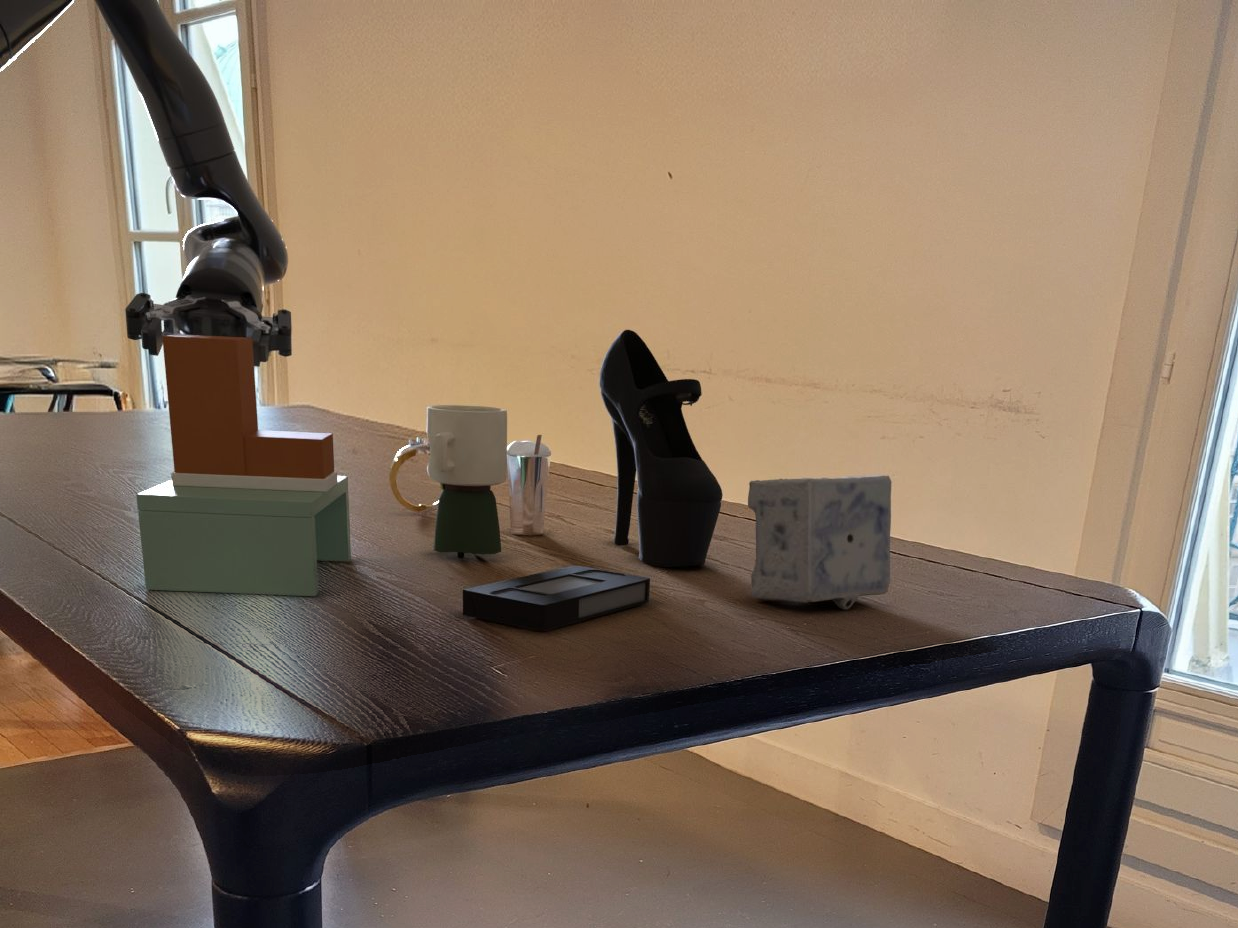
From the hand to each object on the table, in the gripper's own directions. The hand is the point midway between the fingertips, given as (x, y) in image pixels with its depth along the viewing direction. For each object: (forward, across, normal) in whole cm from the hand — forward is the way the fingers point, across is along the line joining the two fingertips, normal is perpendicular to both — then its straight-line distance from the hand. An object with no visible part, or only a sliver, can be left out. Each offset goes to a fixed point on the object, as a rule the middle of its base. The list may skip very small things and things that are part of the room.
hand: (204, 349), depth 112 cm
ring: (-15, +20, +20) cm, 33 cm away
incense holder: (+26, +51, +7) cm, 58 cm away
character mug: (+9, +24, +14) cm, 29 cm away
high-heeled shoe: (+7, +42, +13) cm, 44 cm away
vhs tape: (+30, +29, +8) cm, 42 cm away
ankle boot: (+16, +5, +5) cm, 18 cm away
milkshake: (-4, +31, +17) cm, 35 cm away
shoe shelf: (+18, +5, +12) cm, 22 cm away
